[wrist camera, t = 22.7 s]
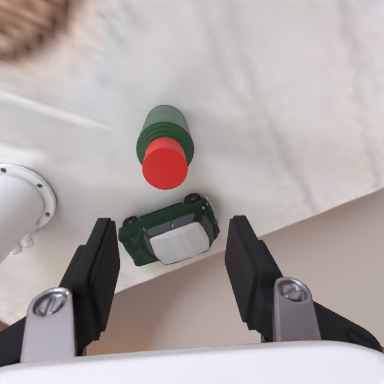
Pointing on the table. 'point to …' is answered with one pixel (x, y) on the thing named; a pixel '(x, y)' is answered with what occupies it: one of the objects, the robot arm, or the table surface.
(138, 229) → the miniature car
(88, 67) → the table surface
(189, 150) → the bottle
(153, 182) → the cap
